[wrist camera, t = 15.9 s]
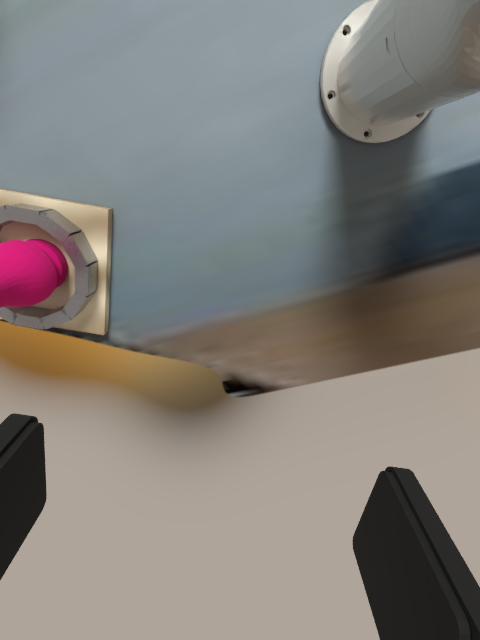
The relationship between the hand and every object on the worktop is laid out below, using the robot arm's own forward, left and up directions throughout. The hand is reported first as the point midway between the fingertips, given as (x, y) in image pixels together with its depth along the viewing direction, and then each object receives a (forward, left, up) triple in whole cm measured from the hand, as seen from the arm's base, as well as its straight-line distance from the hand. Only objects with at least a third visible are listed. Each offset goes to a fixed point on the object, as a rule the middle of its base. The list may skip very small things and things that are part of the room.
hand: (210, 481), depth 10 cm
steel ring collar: (+6, -23, -35) cm, 42 cm away
